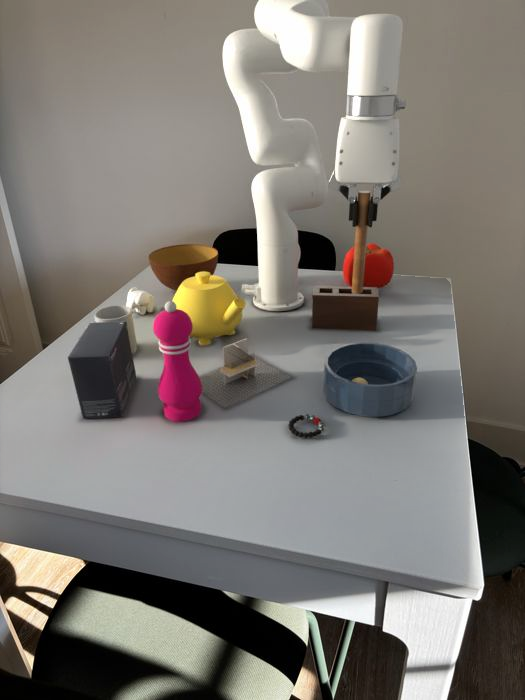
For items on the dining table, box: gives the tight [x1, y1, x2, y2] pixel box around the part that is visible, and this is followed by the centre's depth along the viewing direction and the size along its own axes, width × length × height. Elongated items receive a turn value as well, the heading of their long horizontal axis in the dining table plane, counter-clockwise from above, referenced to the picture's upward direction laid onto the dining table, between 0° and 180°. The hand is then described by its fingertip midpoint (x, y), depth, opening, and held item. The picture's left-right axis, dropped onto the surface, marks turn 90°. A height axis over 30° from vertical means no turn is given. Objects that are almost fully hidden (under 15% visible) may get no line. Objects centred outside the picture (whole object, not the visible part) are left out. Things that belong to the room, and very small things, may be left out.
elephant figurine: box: [125, 286, 156, 316], centre depth 124 cm, size 7×8×6 cm
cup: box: [85, 304, 138, 356], centre depth 105 cm, size 7×10×9 cm
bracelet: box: [287, 413, 325, 439], centre depth 82 cm, size 6×6×1 cm
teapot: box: [172, 271, 246, 346], centre depth 110 cm, size 20×16×14 cm
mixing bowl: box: [323, 341, 418, 418], centre depth 89 cm, size 15×15×6 cm
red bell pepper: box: [342, 243, 395, 290], centre depth 135 cm, size 14×13×10 cm
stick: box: [352, 190, 371, 293], centre depth 92 cm, size 2×2×18 cm
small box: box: [67, 321, 137, 419], centre depth 90 cm, size 13×7×12 cm, turn 1°
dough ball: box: [352, 378, 368, 384], centre depth 89 cm, size 3×3×3 cm
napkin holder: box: [218, 337, 260, 384], centre depth 94 cm, size 3×7×7 cm, turn 129°
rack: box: [311, 285, 380, 332], centre depth 115 cm, size 6×14×8 cm, turn 82°
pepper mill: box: [152, 300, 203, 423], centre depth 83 cm, size 7×7×20 cm
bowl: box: [148, 243, 219, 293], centre depth 136 cm, size 18×18×10 cm
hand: (362, 224), depth 90 cm, fingers closed on stick, 2 cm apart
